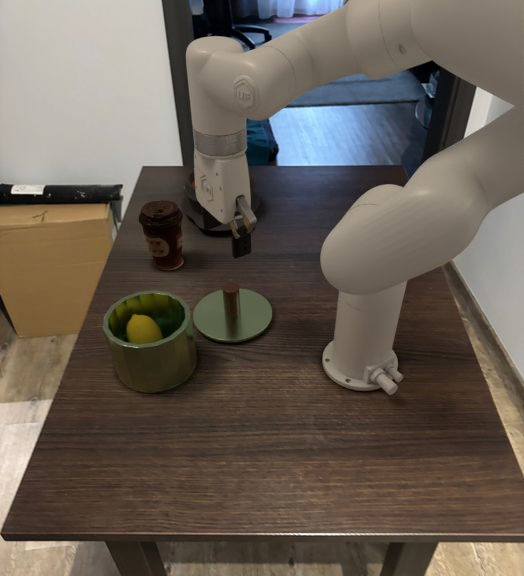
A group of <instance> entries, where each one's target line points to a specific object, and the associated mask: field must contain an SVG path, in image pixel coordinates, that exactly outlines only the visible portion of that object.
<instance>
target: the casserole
mask: <svg viewBox="0 0 524 576" xmlns="http://www.w3.org/2000/svg"><path fill="white" fill-rule="evenodd" d="M248 173H249V182H250V197H251V210H252V212H253V213H254V214H255V212H256V211H257V209H258V208H259V206H260V198H259V195H258V194H257V193H256V192H255V189H256V187H257V185H256V181H255V179H254V178H253V177H252V174H251V172H250V171H249V170H248ZM182 191H183V193H184V195H185V196H184V197H183V199H182V201H181V209H182V212H183V213H184V214H185V215H187V216H188V217H189V218H190V219H192V220H193V221H194V223H195V225H196V226H197V227H198V228H199V229H202V230H205V229H204V226H203V216H202V208H204V207H202V206H201V204H200V203H199V201H198V200H197V198H196V190H195V175H194V169H192V170H191V171H190V172H189V173H188V174H187V175H186V178H185V181H184V183H183V185H182ZM240 214H241V213H240V212H239V211H237V212H235V214H234V216H237V215H240ZM235 222H236V224H237V227H238V229H239V228H240V227H241V226H244V224H243V221H242V219H240V220H237V221H235ZM208 231H210V232H211V231H213V232H223V231H225V232H226V231H232V229H231V226H230V223H227V224H223V223H222V224H221V226H218V227H215V228H212V229H209V230H208Z"/></svg>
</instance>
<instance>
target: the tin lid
mask: <svg viewBox="0 0 524 576" xmlns="http://www.w3.org/2000/svg"><path fill="white" fill-rule="evenodd" d="M272 319H273V307H272V305H271V303H270V302H269V301H268V300H267V298H266V297H264V296H263V295H262V294H260V293H258V292H256V291H253V290H250V289H246V288H240V285H239V284H238V283H237V282H234V281H230V282H225V283H224V284H223V285H222V287H221V289H219V290H215V291H213V292H211V293H208V294H207V295H205V296H204V297H202V298H201V299H200V300H199V301H198V302H197V304H196V305H195V306H194V308H193V311H192V321H193V324H194V327H195V329H196V330H197V331H198V332H199V333H200V334H202V336H204V337H206V338H208V339H210V340H213V341H215V342H221V343H240V342H245V341H249V340H252V339H254V338H256V337H258V336H259V335H261V334H263V332H265V331H266V330H267V329H268V328H269V326H270V325H271V322H272Z"/></svg>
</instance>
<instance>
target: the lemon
mask: <svg viewBox="0 0 524 576" xmlns="http://www.w3.org/2000/svg"><path fill="white" fill-rule="evenodd" d="M126 334H127V338H128V341H129V343H134V344H145V343H153V342H157V341H160V340H162V339H163V338H162V333H161V331H160V329H159V327H158V325H157V324H156V323H155V321H154V320H153V319H151V318H150V317H148V316H145V315H137V314H134V315H132V318H131V319H130V320H129V322H128V324H127V327H126Z"/></svg>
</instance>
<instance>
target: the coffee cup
mask: <svg viewBox="0 0 524 576" xmlns="http://www.w3.org/2000/svg"><path fill="white" fill-rule="evenodd" d="M183 219H184V212H183V210H181V209H180V208H179V206H178V204H177V203H176V202H174V201H172V200H163V199H162V200H152V201H149V202H146V203H144V205H142V207H141V208H140V213H139V215H138V223H139V224H140V225H141V227H142V231H143V232H142V233H143V235H144V238H145V242H146V244H147V248H148V250H149V253H150V255H151V256H152V264H153V266H154V267H155V268H156V269H158V270H163V271H172V270H173V271H174V270H177V269H179V268H180V267H181V266H183V264H184V258H183V255H182V253H183V230H182V221H183Z"/></svg>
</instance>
